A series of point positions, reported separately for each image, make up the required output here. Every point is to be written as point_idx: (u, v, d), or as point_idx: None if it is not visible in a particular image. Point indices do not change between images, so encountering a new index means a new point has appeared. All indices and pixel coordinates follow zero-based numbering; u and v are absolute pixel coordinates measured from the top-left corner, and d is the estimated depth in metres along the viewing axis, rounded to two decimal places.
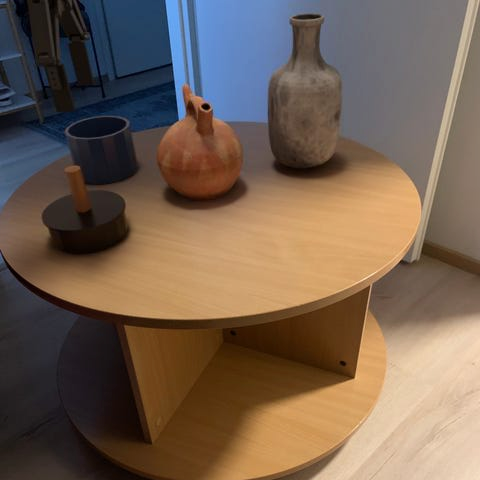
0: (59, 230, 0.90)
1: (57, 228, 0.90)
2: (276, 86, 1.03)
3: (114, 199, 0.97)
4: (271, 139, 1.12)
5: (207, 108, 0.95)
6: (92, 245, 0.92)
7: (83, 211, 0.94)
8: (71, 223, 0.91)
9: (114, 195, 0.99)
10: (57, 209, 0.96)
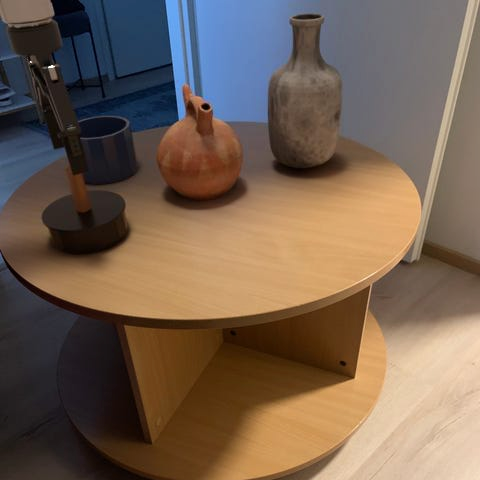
0: (59, 230, 0.90)
1: (57, 228, 0.90)
2: (276, 86, 1.03)
3: (114, 199, 0.97)
4: (271, 139, 1.12)
5: (207, 108, 0.95)
6: (92, 245, 0.92)
7: (83, 211, 0.94)
8: (71, 223, 0.91)
9: (114, 195, 0.99)
10: (57, 209, 0.96)
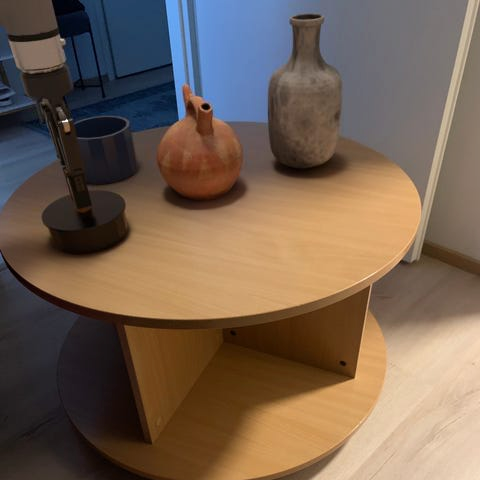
0: (59, 230, 0.90)
1: (57, 228, 0.90)
2: (276, 86, 1.03)
3: (114, 199, 0.97)
4: (271, 139, 1.12)
5: (207, 108, 0.95)
6: (92, 245, 0.92)
7: (83, 211, 0.94)
8: (71, 223, 0.91)
9: (114, 195, 0.99)
10: (57, 209, 0.96)
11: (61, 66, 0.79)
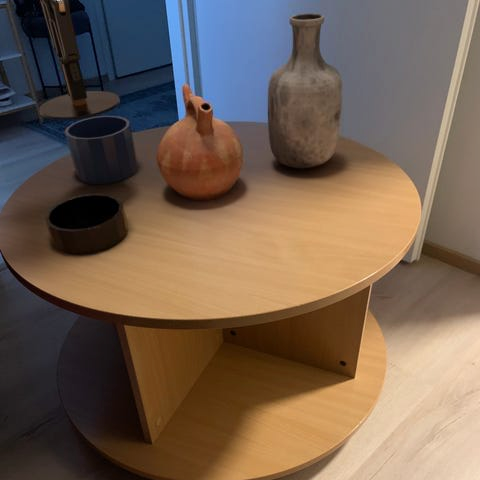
0: (55, 118, 0.94)
1: (53, 116, 0.94)
2: (276, 86, 1.03)
3: (109, 96, 1.01)
4: (271, 139, 1.12)
5: (207, 108, 0.95)
6: (92, 245, 0.92)
7: (79, 104, 0.98)
8: (67, 112, 0.95)
9: (109, 94, 1.03)
10: (54, 104, 1.00)
11: None
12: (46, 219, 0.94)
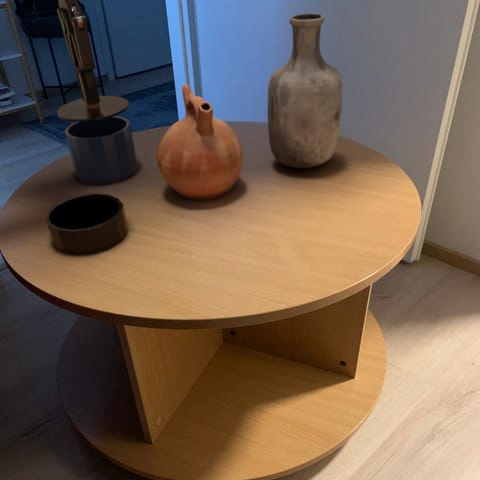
0: (73, 120, 1.06)
1: (71, 118, 1.06)
2: (276, 86, 1.03)
3: (119, 100, 1.14)
4: (271, 139, 1.12)
5: (207, 108, 0.95)
6: (92, 245, 0.92)
7: (93, 108, 1.10)
8: (83, 115, 1.08)
9: (119, 98, 1.15)
10: (70, 107, 1.12)
11: None
12: (46, 219, 0.94)
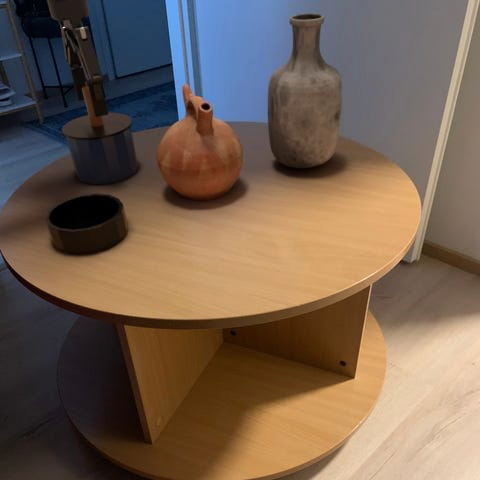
0: (77, 138, 1.09)
1: (76, 136, 1.09)
2: (276, 86, 1.03)
3: (122, 118, 1.16)
4: (271, 139, 1.12)
5: (207, 108, 0.95)
6: (92, 245, 0.92)
7: (97, 125, 1.13)
8: (87, 133, 1.10)
9: (122, 116, 1.18)
10: (75, 125, 1.14)
11: None
12: (46, 219, 0.94)
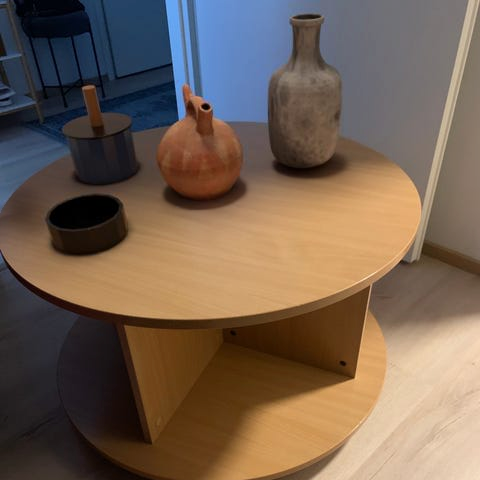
0: (77, 138, 1.09)
1: (76, 136, 1.09)
2: (276, 86, 1.03)
3: (122, 118, 1.16)
4: (271, 139, 1.12)
5: (207, 108, 0.95)
6: (92, 245, 0.92)
7: (97, 125, 1.13)
8: (87, 133, 1.10)
9: (122, 116, 1.18)
10: (75, 125, 1.14)
11: None
12: (46, 219, 0.94)
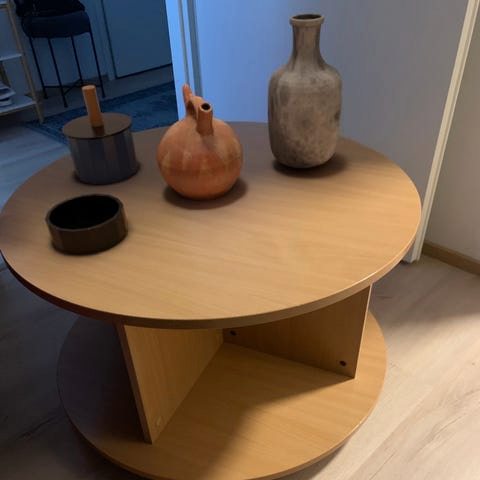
0: (77, 138, 1.09)
1: (76, 136, 1.09)
2: (276, 86, 1.03)
3: (122, 118, 1.16)
4: (271, 139, 1.12)
5: (207, 108, 0.95)
6: (92, 245, 0.92)
7: (97, 125, 1.13)
8: (87, 133, 1.10)
9: (122, 116, 1.18)
10: (75, 125, 1.14)
11: None
12: (46, 219, 0.94)
